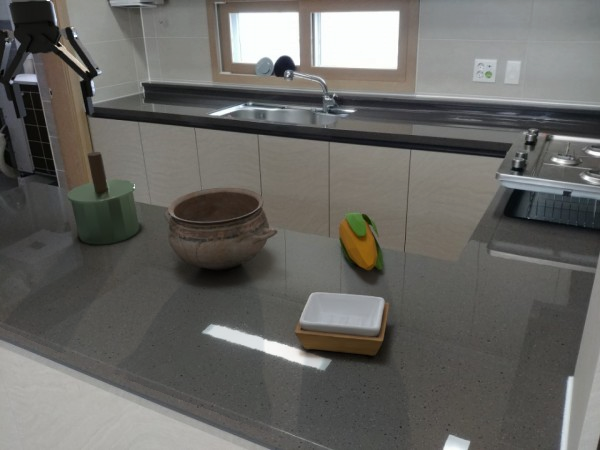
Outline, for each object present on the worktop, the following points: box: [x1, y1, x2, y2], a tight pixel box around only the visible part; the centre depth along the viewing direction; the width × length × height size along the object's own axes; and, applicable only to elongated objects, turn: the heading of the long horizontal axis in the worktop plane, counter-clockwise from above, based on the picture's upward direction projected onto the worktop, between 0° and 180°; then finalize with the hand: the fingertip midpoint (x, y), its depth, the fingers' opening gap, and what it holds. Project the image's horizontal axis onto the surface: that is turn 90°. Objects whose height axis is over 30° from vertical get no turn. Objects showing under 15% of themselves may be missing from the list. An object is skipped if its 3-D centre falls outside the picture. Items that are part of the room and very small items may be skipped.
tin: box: [70, 191, 140, 246], centre depth 117 cm, size 13×13×10 cm
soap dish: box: [294, 291, 390, 357], centre depth 79 cm, size 12×10×5 cm
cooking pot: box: [164, 187, 278, 272], centre depth 101 cm, size 25×19×12 cm
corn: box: [338, 212, 384, 271], centre depth 101 cm, size 7×8×20 cm
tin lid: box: [67, 151, 136, 204], centre depth 114 cm, size 14×14×9 cm
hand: (56, 115), depth 107 cm, fingers open, 13 cm apart
